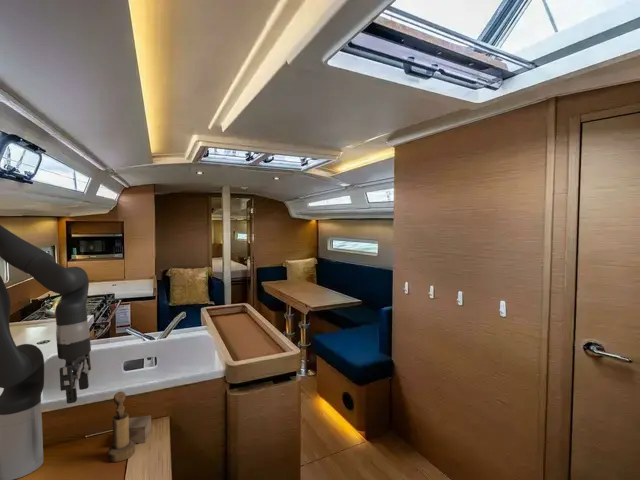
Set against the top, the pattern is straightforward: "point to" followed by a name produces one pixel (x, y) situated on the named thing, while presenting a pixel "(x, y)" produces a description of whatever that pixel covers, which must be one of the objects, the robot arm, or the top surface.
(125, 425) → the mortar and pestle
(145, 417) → the walnut stand
